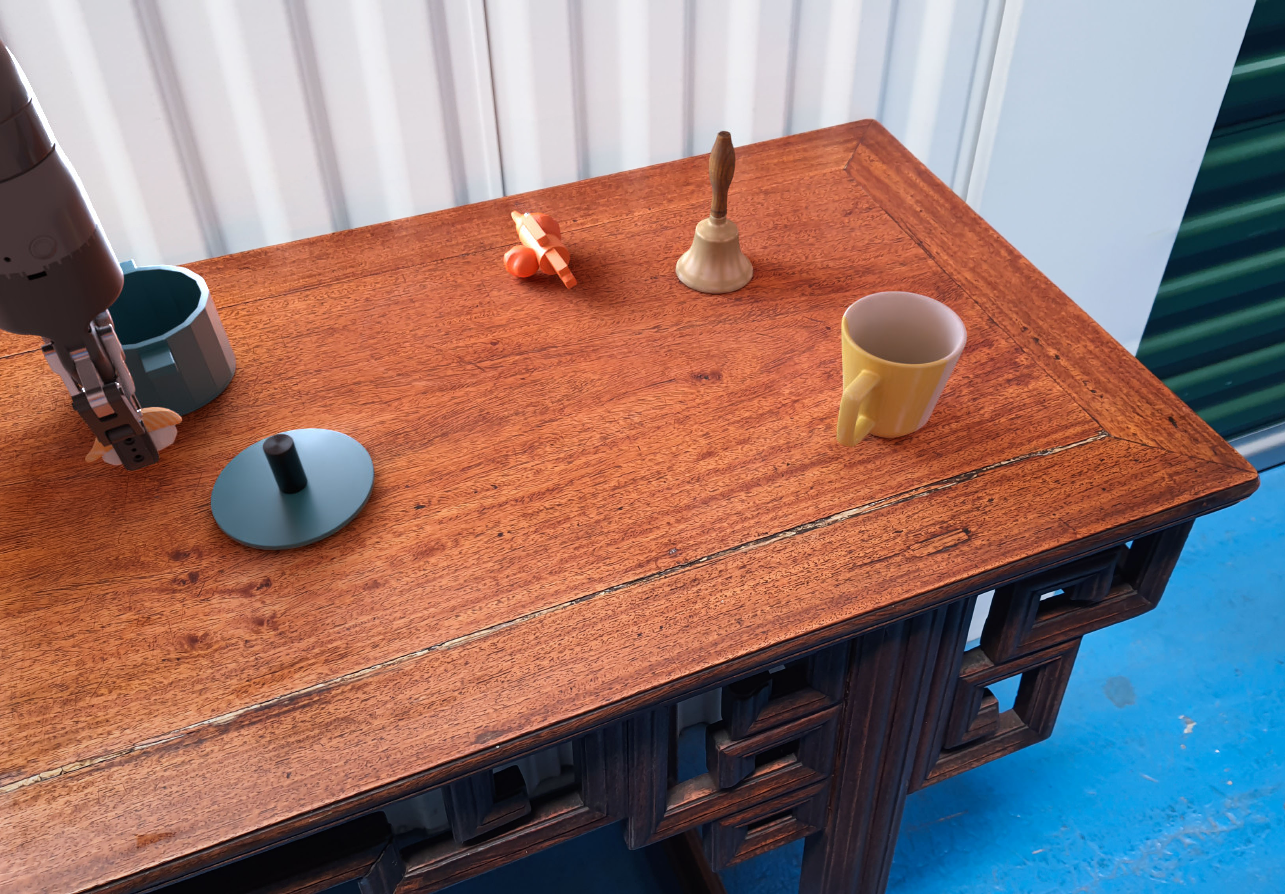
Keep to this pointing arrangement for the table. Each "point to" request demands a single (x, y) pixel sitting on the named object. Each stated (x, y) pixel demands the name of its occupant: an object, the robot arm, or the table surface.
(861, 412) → the mug
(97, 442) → the sushi
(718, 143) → the hand bell
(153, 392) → the pot
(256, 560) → the table surface
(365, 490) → the lid
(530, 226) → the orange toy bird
